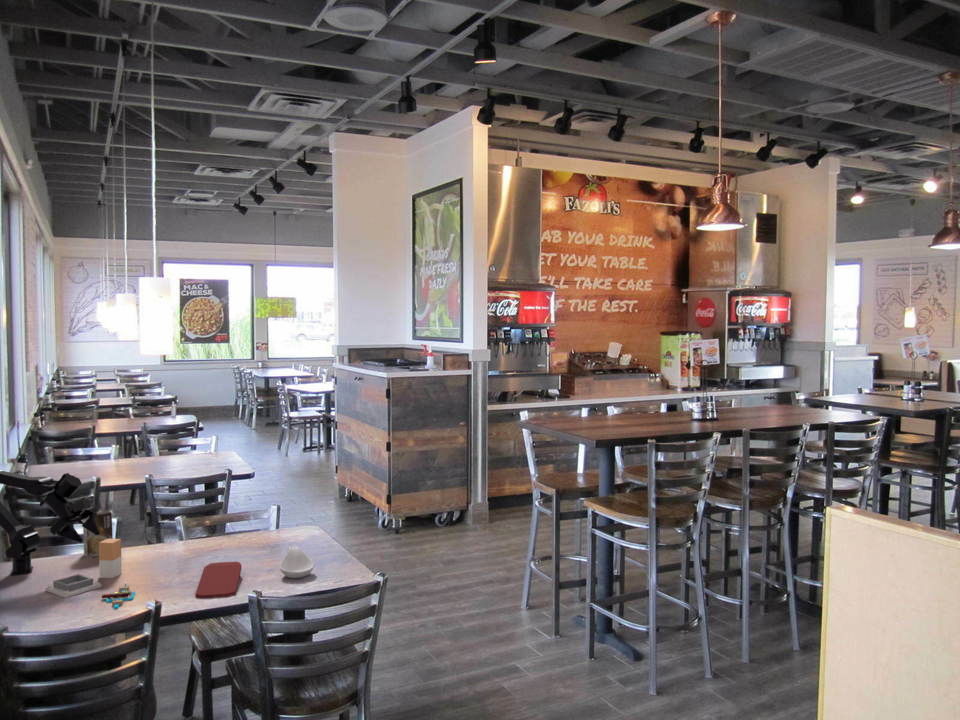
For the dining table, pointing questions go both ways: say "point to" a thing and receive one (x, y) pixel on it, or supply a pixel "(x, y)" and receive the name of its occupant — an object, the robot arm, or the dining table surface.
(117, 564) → the orange and white block
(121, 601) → the turquoise and red toy
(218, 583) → the red rounded slab
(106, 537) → the coffee box
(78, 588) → the socket plate
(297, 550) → the spoon rest
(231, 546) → the dining table surface
